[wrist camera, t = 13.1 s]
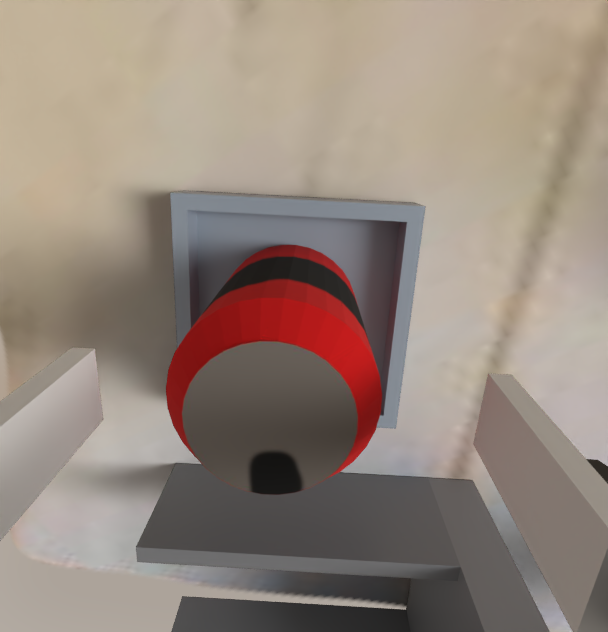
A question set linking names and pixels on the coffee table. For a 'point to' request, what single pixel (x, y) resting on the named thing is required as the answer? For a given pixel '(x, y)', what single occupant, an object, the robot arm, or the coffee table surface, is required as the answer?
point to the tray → (316, 233)
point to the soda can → (277, 375)
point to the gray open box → (343, 552)
